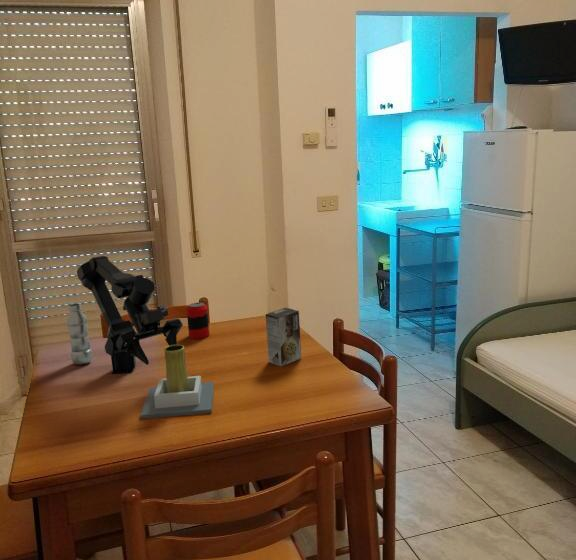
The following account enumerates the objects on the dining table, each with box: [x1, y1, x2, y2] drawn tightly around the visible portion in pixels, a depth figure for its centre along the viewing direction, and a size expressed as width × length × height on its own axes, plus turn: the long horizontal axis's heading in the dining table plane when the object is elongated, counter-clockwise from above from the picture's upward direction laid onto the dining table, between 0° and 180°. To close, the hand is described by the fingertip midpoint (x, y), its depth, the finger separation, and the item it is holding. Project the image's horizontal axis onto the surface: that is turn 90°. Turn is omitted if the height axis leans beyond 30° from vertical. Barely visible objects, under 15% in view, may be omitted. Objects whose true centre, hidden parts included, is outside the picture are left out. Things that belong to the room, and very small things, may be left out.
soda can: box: [186, 302, 210, 340], centre depth 205 cm, size 8×8×12 cm
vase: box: [163, 344, 189, 393], centre depth 150 cm, size 6×6×14 cm
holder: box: [140, 375, 215, 420], centre depth 151 cm, size 18×18×4 cm
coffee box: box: [265, 307, 302, 367], centre depth 175 cm, size 9×6×16 cm
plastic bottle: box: [65, 303, 94, 365], centre depth 181 cm, size 6×7×20 cm
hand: (162, 359), depth 154 cm, fingers open, 9 cm apart
